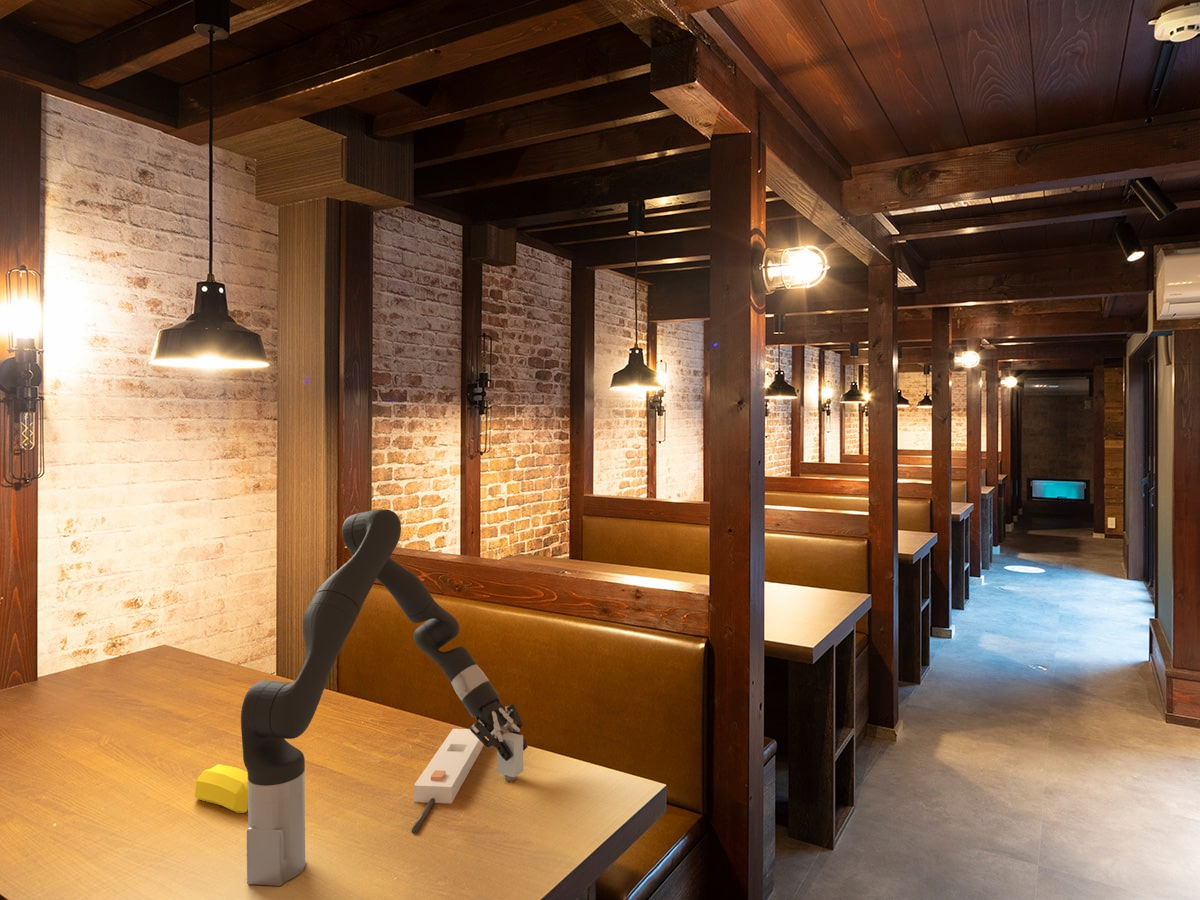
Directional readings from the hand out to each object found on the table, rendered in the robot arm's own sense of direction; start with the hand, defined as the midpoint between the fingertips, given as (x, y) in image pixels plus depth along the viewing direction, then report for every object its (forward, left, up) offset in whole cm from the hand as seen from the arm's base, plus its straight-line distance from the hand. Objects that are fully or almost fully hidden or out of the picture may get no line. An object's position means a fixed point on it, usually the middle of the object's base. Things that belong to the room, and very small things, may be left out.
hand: (517, 753), depth 168 cm
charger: (+1, +2, -6) cm, 6 cm away
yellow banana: (-14, +58, -7) cm, 60 cm away
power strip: (-2, +16, -6) cm, 17 cm away
